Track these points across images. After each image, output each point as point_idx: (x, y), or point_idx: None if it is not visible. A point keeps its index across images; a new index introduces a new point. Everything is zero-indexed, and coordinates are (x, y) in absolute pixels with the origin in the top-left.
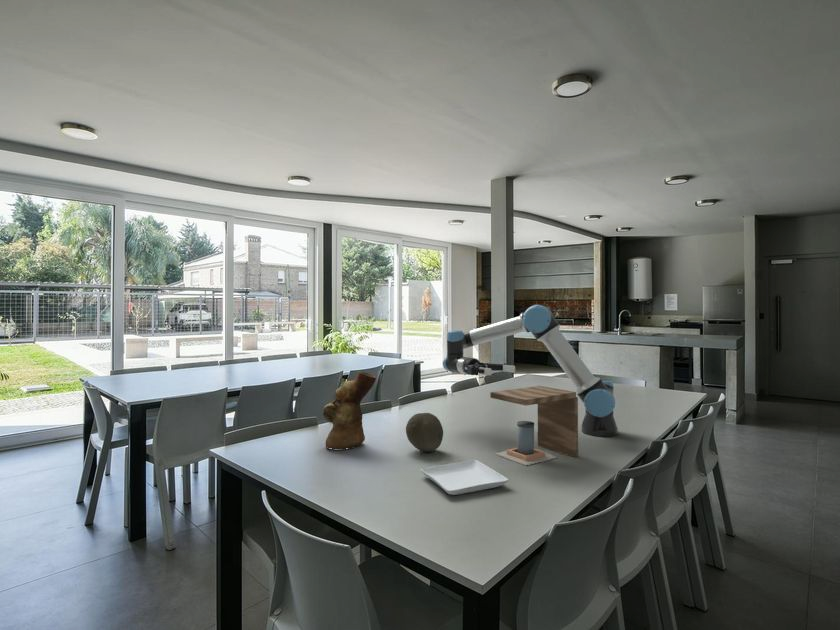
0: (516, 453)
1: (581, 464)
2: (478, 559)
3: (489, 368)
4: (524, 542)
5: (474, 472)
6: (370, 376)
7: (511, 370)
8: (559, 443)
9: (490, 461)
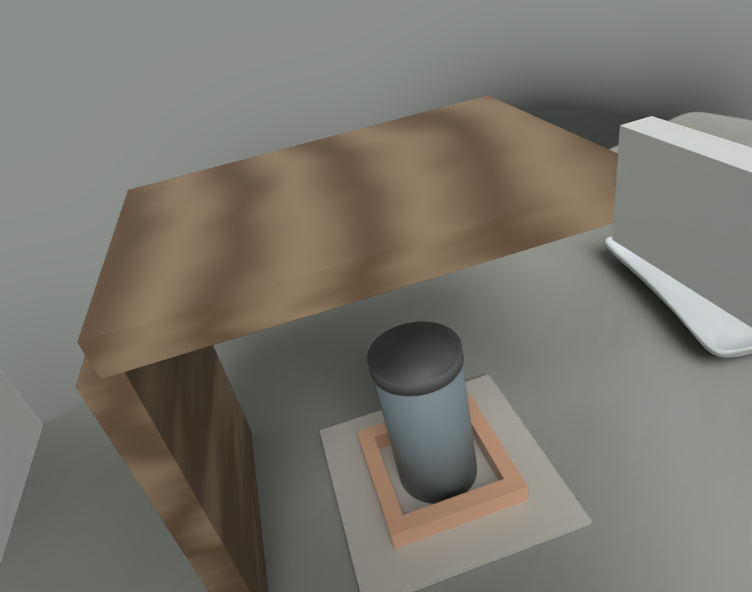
0: (494, 433)
1: (291, 371)
2: (695, 128)
3: (657, 132)
4: (617, 150)
5: (714, 322)
6: None
7: (4, 448)
8: (244, 464)
9: (632, 437)
